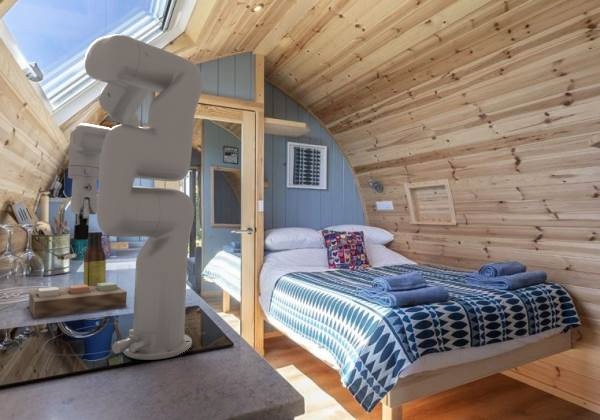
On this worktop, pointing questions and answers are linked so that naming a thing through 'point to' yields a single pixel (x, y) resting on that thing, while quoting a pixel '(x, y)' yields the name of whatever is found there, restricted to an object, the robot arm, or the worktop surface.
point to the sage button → (106, 286)
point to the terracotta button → (78, 289)
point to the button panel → (75, 301)
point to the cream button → (48, 292)
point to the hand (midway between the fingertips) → (80, 239)
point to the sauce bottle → (94, 260)
